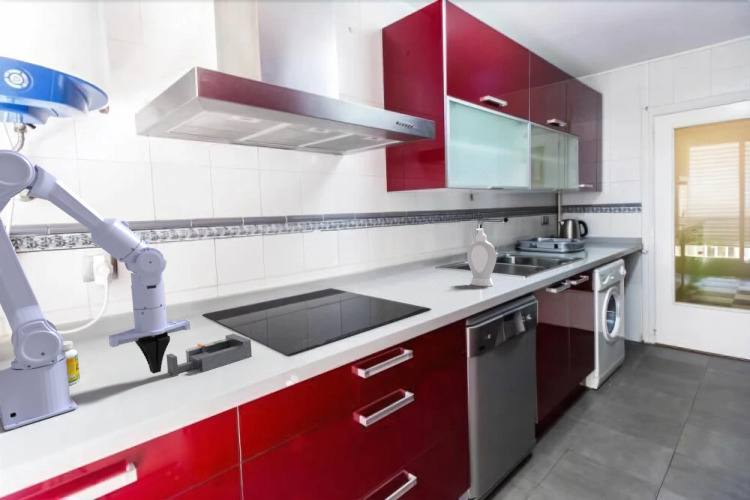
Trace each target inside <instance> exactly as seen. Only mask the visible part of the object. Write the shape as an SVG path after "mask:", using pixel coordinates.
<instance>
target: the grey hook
mask: <svg viewBox="0 0 750 500" xmlns="http://www.w3.org/2000/svg"><path fill="white" fill-rule="evenodd" d="M197 346H200V347H201V350H202V353H199V354H195V355H192V356H190V362H187V361H186V362H184V363H183V362H182V363H180V364H178V356H177V355H175V354H173V353H168V354H166V355H165V356H166V366H167V367H166V368H167V373H168V374H169V375H171V376H172V377H175V376H178V375H179V373H182V372H184V371H188V370H192V369H195V368H196V369H198V370H200V369H199V356H203V355H206V354H209V353H207V352H205V345H204V344H203V343H201V342H199V343H197Z"/></svg>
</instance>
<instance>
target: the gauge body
mask: <svg viewBox="0 0 750 500" xmlns="http://www.w3.org/2000/svg"><path fill="white" fill-rule="evenodd" d="M203 345H205V352H207V353H209V354H206V355H203V356H199V369H198V370H199V371H200V372H202V373H204V372H207V371H210V370H215V369H217V368H220V367H223V366H226V365H230V364H233V363H236V362H238V361H242V360H245V359H248V358H252V357H253V355H252V340H251V339H249V338H246V337H244V336H240V335H239V334H235V333H230V334H226V335H225V338H224V339H219V340H216V341H211V342H209V343H205V344H203ZM199 353H202V350H201V347H200V346H198V345H196V346H195V347H191V348H186V349H185V357H186V359H185V360H186V362H190V356H192V355H195V354H199Z"/></svg>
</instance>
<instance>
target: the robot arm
mask: <svg viewBox="0 0 750 500" xmlns="http://www.w3.org/2000/svg"><path fill="white" fill-rule="evenodd" d="M24 190H28V192H27V194H26V197H31V198H35V199H39V200H40V199H41V200H45V201H48V202H50V203H51V204H53V205H54V206H55V207H57V208H59V209H60V210H61V211H63V212H64V213H65V214H67V215H68V216H69V217H71V218H73V219H74V220H75V221H76V222H78V223H79V224H81V225H82V226H84V227H85V228H87V229H88V230H89V231H90V239H91V242H93V243H94V244H96V245H97V246H98V247H99V248H101V249H102V250H103V251H104V252H106V253H108V255H110V256H112V258H114V259H115V260H117V261H118V262H120V263H124V267H125V268H126V269H127V271H129V272H130V281H131V282H130V284H131V285H130V288H131V289H130V290H131V299H132V309H133V321H134V328H132V329H128V330H125V331H122V332H118V333H115V334H110V335H108V342H109V346H110V347H111V348H116V347H119V346H120V345H125V344H128V343H133V342H135V344H136V345H137V347H138V348H139V349H140V351H141V353H142V354H143V356H144V359H145V360H146V362H147V365H148V368H149V371H150V373H152V374H157V373H161V372H162V364H163V360H164V356H165V353H166V350H167V347H168V345H169V344H170V342H171V336H170V335H169V334H171V333H176V332H180V331H187V330H191V320H189V319H187V318H185V319H181V320H173V321H172V320H171V321H168V317H167V306H166V293H165V292H166V291H165V283H164V278H163V272H164V271H165V269H166V267H167V260H166V259H165V258H164V254H163V253H162V252H161V251H160V250H158V248H157V249H156V248H155V247H154V248H153V247H149V244H150V241H149V240H148V239H147V238H145V239H144V238H141V237H140V236H139V235H138V234H136V233H135V232H133V231H132V230H131V229H130V228H129V227H130V224H129V223H128V222H127V221H125V220H122V221H120V220H119V219H118V218H105V217H103V216H102V215H101V214H100V213H99V212H97V210H96V209H94V207H92V206H90V205H89V204H88V203H87V202H86V201H85V200H84V199H82V198H81V197H80V196H79V195H77V194H76V193H75V192H74V191H73V190H72V189H71V188H69V187H68V186H67V185H66V184H65V183H64V182H62V181H61V180H60V179H58V178H57V177H56V176H55V175H53V173H52V174H51V172H49V171H47V170H46V169H45V168H44V167H41V166H40V165H38V164H35V165H34V164H33V163H32V161H31V160H30V159H29V158H28V157H27V156H26V155H24V154H22V153H21V152H18V151H16V150H11V149H0V214H1V212H2V211H3V210H4V209H5V208H6V206H7V205H8V204H9V202H10V201H11V200H12V198H13V197H15V196H18V195H19V194H20V193H21V192H23V191H24ZM0 306H1V308H2V311H3V313H4V315H5V317H6V320H7V322H8V324H9V325H8V326H10V327H9V328H10V329H11V331H12V333H11V337H10V340H11V345H12V347H13V350H12V351H13V354H14V357H15V358H14V359H13V360H12V361H11V362H10V366H9V367H7V368H4V369H1V370H0V421H1V424H2V426H3V429H4V430H5V431H9V430H12V429H15V428H19V427H22V426H26V425H28V424H31V423H35V422H38V421H42V420H44V419H47V418H50V417H54V416H57V415H60V414H64V413H66V412H69V411H70V412H71V411H72V410H73V411H74V410H76V409H77V408H78V404H77V403H76V402H75V400H74V399H73V398H72V396H71V394H70V386H69V383H68V373H67V364H66V356H65V353H64V352H61V351H62V349H63V344H64V342H63V341H64V338H63V336H62V335H61V333H60V332H58V329H57V327H56V325H55V324H54V323H52V322H51V321H49V320H48V319H46V316H45V314H44V312H43V310H42V307H41V306H40V304H39V301H38V299H37V297H36V294H35V292H34V290H33V288H32V285H31V284H30V282H29V279H28V276H27V274H26V273H25V270H24V267H23V265H22V263H21V261H20V258H19V256H18V254H17V252H16V250H15V248H14V245H13V243H12V241H11V238H10V237H9V234H8V232H7V230H6V227H5V225H4V223H3V220H2V218H1V217H0Z"/></svg>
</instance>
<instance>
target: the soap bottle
mask: <svg viewBox="0 0 750 500" xmlns="http://www.w3.org/2000/svg"><path fill="white" fill-rule="evenodd" d="M475 231H478V233H477V235H475V241H473V242H471V243H470V245H469V246H468V248H467V252H466V253H467V254H466V259H467V263H468V266H469V269H470V271H471V274H472V278H471V281H470V285H471V286H475V287H493V286H494V283H493V280H492V278H491V276H492V273H493V271H494V270H495V265H496V263H497V252H496V249H495V246H494V245H493V244H492V243H491V242H490V241H488V240H487V238H488V236H487V234H486V233H485V232H484V231H485V228H481V227H480V228H476V229H475Z"/></svg>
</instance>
